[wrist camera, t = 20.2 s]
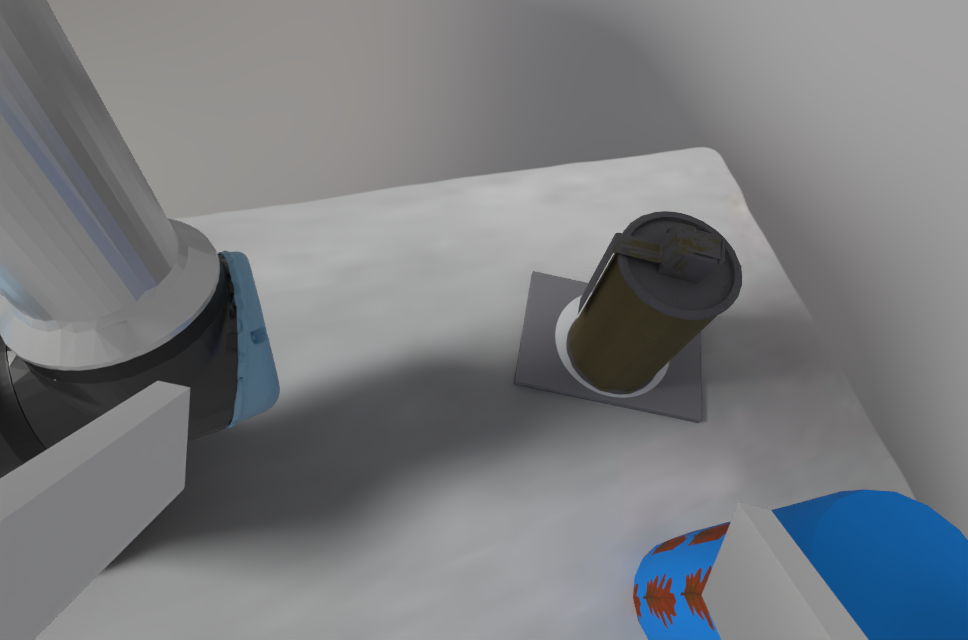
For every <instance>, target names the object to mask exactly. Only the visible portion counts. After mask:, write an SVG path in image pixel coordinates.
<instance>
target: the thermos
mask: <svg viewBox="0 0 968 640" xmlns="http://www.w3.org/2000/svg"><path fill="white" fill-rule="evenodd" d="M771 511H772V512H773V514H774V515H775V516H776V518H777V519H778V520H779V522H780V523H781V524H782V526H783V527H784V528H785V530H786V531H787V532H788V533H789V535H790V536H791V537H792V539H793V540H794V541H795V543H796V544H797V545H798V547H799V548H800V549H801V551H802V552H803V553H804V555H805V556H806V557H807V559H808V560H809V561H810V563H811V564H812V565H813V567H814V568H815V569H816V571H817V572H818V573H819V575H820V576H821V577H822V579H823V580H824V581H825V583H826V584H827V585H828V587H829V588H830V589H831V591H832V592H833V593H834V595H835V596H836V597H837V598H838V600H839V601H840V602H841V604H842V605H843V606H844V608H845V609H846V610H847V612H848V613H849V614H850V616H851V617H852V618H853V620H854V621H855V622H856V624H857V625H858V626H859V628H860V629H861V630H862V632H863V633H864V634H865V636H866V637H867V638H868V640H968V540H967V539H966V538H965V536H964V535H963V534H962V533H961V531H960V530H959V529H957V528H956V527H955V526H953V525H952V524H950V522H948V521H947V520H946V519H944V518H943V517H942V516H941V515H939V514H938V513H937V512H935V511H934V510H933V509H931V508H930V507H929V506H927V505H925V504H923V503H920V502H918V501H916V500H913V499H911V498H908V497H906V496H904V495H901V494H899V493H897V492H889V491H875V490H855V491H843V492H838V493H834V494H830V495H826V496H823V497H819V498H815V499H812V500H808V501H804V502H801V503H797V504H793V505H790V506H786V507H782V508H779V509H775V510H771ZM730 523H731V522H727V523H723V524H720V525H716V526H712V527H709V528H705V529H701V530H698V531H694V532H690V533H687V534H685V535H682V536H679V537H676V538H673V539H671V540H668V541H666V542H664V543H661V544H659V545H657V546H655V547H654V548H653V549H652V550H651V551H650V552H649V553H648V554H647V555H646V556H645V557H644V558H643V559H642V562H641V564H640V566H639V568H638V571H637V573H636V575H635V582H634V595H633V599H634V603H635V608H636V612H637V617H638V621H639V623H640V625H641V626H642V628H643V630H644V632H645V634H646V635H647V637H648V639H649V640H721V638H720V636H719V633H718V631H717V629H716V627H715V624H714V622H713V620H712V618H711V615H710V613H709V611H708V609H707V606H706V604H705V602H704V600H703V597H702V593H703V590H704V588H705V585H706V583H707V580H708V578H709V575H710V573H711V570H712V568H713V565H714V563H715V560H716V558H717V555H718V553H719V550H720V548H721V545H722V543H723V540H724V538H725V535H726V533H727V530H728V528H729V525H730Z"/></svg>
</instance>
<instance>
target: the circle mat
mask: <svg viewBox="0 0 968 640" xmlns="http://www.w3.org/2000/svg"><path fill="white" fill-rule="evenodd" d="M588 284H589V283H585V282H581V281H576V280H571V279H567V278H562V277H557V276H553V275H548V274H543V273H539V272H534V271H533V273H532V276H531V283H530V289H529V295H528V301H527V307H526V313H525V319H524V326H523V332H522V338H521V344H520V350H519V356H518V362H517V368H516V375H515V381H514V384H517V385H522V386H527V387H531V388H536V389H541V390H546V391H550V392H555V393H560V394H564V395H569V396H574V397H579V398H583V399H588V400H593V401H597V402H602V403H607V404H612V405H616V406H621V407H626V408H631V409H635V410H640V411H645V412H649V413H654V414H659V415H664V416H668V417H673V418H678V419H682V420H687V421H692V422H697V423H699V422H700V421H702V408H701V351H700V332H699V333H698V334H697V335H696V336H695V337H694V338H693V339H692V340H691V341H690V342H689V343H688V344H687V345H686V346H685V347H684V348H683V349H682V350H681V351H680V352H679V353H678V354H676V355H675V356H674V357H673V358H672V359H671V360H670V361H669V362H668V363H667V364H666V365H665V366H664V367H663V368H662V369H661V370H660V371H659V372H658V373H657V374H656V375H655V377H654V379H653V380H652V381H651V382H650V383H649V384H648V385H647V386H646V387H644V388H643V389H641V390H638V391H636V392H633V393H631V394H622V395H619V394H612V393H608V392H604V391H599V390H598V389H596V388H594V387H593V386H591V385H590V384H588V383H587V382H586V381H584V380H583V379H582V378H581V377H580V376H579V375H578V374H577V372H576V371H575V369H574V368H573V367H572V364H571V361H570V359H569V356H568V354H567V349H566V342H567V334H568V331H569V329H570V327H571V325H572V323H573V322H574V321H575V319H576V318H578V317H579V315H580V313H581V312H582V310H583V308H584V306H585V304H586V303H587V301H588V299H589V297H590V296H591V294H592V292H593V290H594V289H595V287H596V285H595V286H594V288H593V290H592V291H591V293H590V295H589V297H588V298H587V300H586V302H585V304H584V306H583V307H582V309H581V311H580V313H579V314H578V310H579V304H580V298H581V297H582V295H583V293H584V291H585V289H586V287H587V285H588Z"/></svg>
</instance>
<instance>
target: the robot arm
mask: <svg viewBox="0 0 968 640" xmlns="http://www.w3.org/2000/svg"><path fill="white" fill-rule="evenodd" d="M0 293H1V294H2V297H1V300H0V640H34V639H35V638H36V637H37V636H38V635H39V634H40V633H41V632H42V631H43V630H44V629H45V628H46V627H47V626H48V625H49V624H50V623H51V622H52V621H53V620H54V619H55V618H56V617H57V616H58V615H59V614H60V613H61V612H62V611H63V610H64V609H65V608H66V607H67V606H68V605H69V604H70V603H71V602H72V601H73V600H74V599H75V598H76V597H77V596H78V595H79V594H80V593H81V592H82V591H83V590H84V589H85V588H86V587H87V586H88V585H89V584H90V583H91V582H92V581H93V580H94V579H95V578H96V577H97V576H98V575H99V574H100V573H101V572H102V571H103V570H104V569H105V568H106V567H107V566H108V565H109V564H110V563H111V562H112V561H113V560H114V559H115V558H116V557H117V556H118V555H119V554H120V553H121V552H122V551H123V550H124V549H125V548H126V547H127V546H128V545H129V544H130V543H131V542H132V541H133V540H134V539H135V538H136V537H137V536H138V535H139V534H140V533H141V532H142V531H143V530H144V528H145V527H146V526H147V525H148V524H149V523H150V522H151V521H152V520H153V519H154V518H155V517H156V516H157V515H158V514H159V513H160V512H161V511H162V510H163V509H164V508H165V507H166V506H167V505H168V504H169V503H170V502H171V501H172V500H173V499H174V498H175V497H176V496H177V495H178V494H179V493H180V492H181V491H182V490H183V489H184V488H185V471H186V453H187V441H189V440H192V439H195V438H198V437H201V436H204V435H207V434H210V433H213V432H216V431H219V430H222V429H229V428H232V427H234V426H235V425H236V424H237V423H238V422H240V421H243V420H245V419H248V418H250V417H253V416H255V415H257V414H260V413H262V412H265V411H267V410H268V409H270V408H271V407H272V406H273V405H274V404H275V402H276V401H277V399H278V397H279V392H280V386H279V380H278V375H277V371H276V367H275V363H274V359H273V354H272V350H271V346H270V343H269V339H268V335H267V332H266V326H265V323H264V319H263V314H262V309H261V305H260V301H259V297H258V294H257V290H256V286H255V282H254V278H253V274H252V271H251V267H250V264H249V260H248V258H247V257H246V255H245V254H243V253H241V252H228V251H223V252H219V253H218V254H217V252H216V250H215V248H214V247H213V245H212V244H211V242H210V241H209V240H208V238H207V237H206V236H205V235H204V234H203V233H202V232H200V231H199V230H198V229H196V228H194V227H192V226H190V225H188V224H186V223H183V222H181V221H177V220H173V219H168V218H167V217H166V215H165V213H164V211H163V209H162V208H161V206H160V204H159V202H158V200H157V199H156V197H155V195H154V193H153V191H152V189H151V188H150V186H149V184H148V183H147V181H146V179H145V177H144V175H143V173H142V171H141V170H140V168H139V166H138V164H137V163H136V161H135V159H134V157H133V155H132V153H131V152H130V150H129V148H128V146H127V144H126V143H125V141H124V139H123V137H122V136H121V134H120V132H119V130H118V128H117V127H116V125H115V123H114V121H113V119H112V117H111V116H110V114H109V112H108V110H107V108H106V106H105V105H104V103H103V101H102V99H101V97H100V96H99V94H98V92H97V90H96V88H95V87H94V85H93V83H92V81H91V79H90V78H89V76H88V74H87V72H86V71H85V69H84V67H83V65H82V63H81V61H80V60H79V58H78V56H77V54H76V52H75V51H74V49H73V47H72V45H71V43H70V42H69V40H68V38H67V36H66V34H65V33H64V31H63V29H62V27H61V25H60V24H59V22H58V20H57V19H56V16H55V15H54V13H53V11H52V9H51V7H50V6H49V4H48V2H47V0H0ZM702 597H703V600H704V602H705V604H706V606H707V609H708V611H709V613H710V615H711V618H712V620H713V622H714V624H715V627H716V629H717V631H718V633H719V636H720V638H721V640H868V638H867V637H866V636H865V634H864V633H863V632H862V630H861V629H860V628H859V626H858V625H857V624H856V622H855V621H854V620H853V618H852V617H851V616H850V614H849V613H848V612H847V610H846V609H845V608H844V606H843V605H842V604H841V602H840V601H839V600H838V598H837V597H836V596H835V595H834V593H833V592H832V591H831V589H830V588H829V587H828V585H827V584H826V583H825V581H824V580H823V579H822V577H821V576H820V575H819V573H818V572H817V571H816V569H815V568H814V567H813V565H812V564H811V563H810V561H809V560H808V559H807V557H806V556H805V555H804V553H803V552H802V551H801V549H800V548H799V547H798V545H797V544H796V543H795V541H794V540H793V539H792V537H791V536H790V535H789V533H788V532H787V531H786V530H785V528H784V527H783V526H782V524H781V523H780V522H779V520H778V519H777V518H776V516H775V515H774V514H773V512H772V511H771V510H770V509H768V508H763V507H758V506H753V505H749V504H744V503H738V505H737V508H736V510H735V513H734V515H733V518H732V520H731V523H730V525H729V528H728V530H727V533H726V535H725V538H724V540H723V543H722V545H721V548H720V550H719V553H718V555H717V558H716V560H715V563H714V565H713V568H712V570H711V573H710V575H709V578H708V580H707V583H706V585H705V588H704V590H703V593H702Z"/></svg>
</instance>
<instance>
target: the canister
mask: <svg viewBox="0 0 968 640" xmlns="http://www.w3.org/2000/svg"><path fill="white" fill-rule="evenodd" d="M613 253H614V255H613V257H612V259H611V260H610V262H609V264H608V266H607V268H606V269H605V271H604V273H603V275H602V276H601V278H600V280H599V282H598V283H597V285H596V287H595V289H594V290H593V288H594V286H595V284H596V282H597V281H598V279H599V277H600V275H601V273H602V272H603V270H604V268H605V266H606V265H607V263H608V261H609V259H610V257H611V256H612V254H613ZM741 286H742V271H741V265H740V263H739V261H738V258H737V256H736V254H735V251H734V250H733V248H732V247H731V246H730V244H729V243H728V242H727V241H726V239H725V238H724V237H723V236H722V235H721V234H720V233H719V232H718V231H716V230H715V229H714V228H712V227H711V226H709V225H708V224H706V223H705V222H703V221H701V220H698V219H696V218H694V217H692V216H689V215H685V214H682V213H677V212H665V211H664V212H654V213H651V214H647V215H643V216H641V217H639V218H638V219H636V220H635V221H633V222H632V223H630V224H629V226H628V227H627V228H626V229H625V230H624V232H623V233H616V234H615V235H614V237H613V239H612V241H611V243H610V245H609V246H608V248H607V250H606V252H605V254H604V256H603V258H602V259H601V261H600V263H599V265H598V267H597V269H596V271H595V272H594V274H593V276H592V278H591V280H590V282H589V284H588V285H587V287H586V289H585V291H584V293H583V295H582V297H581V298H580V304H579V310H578V314H579V313H580V311H581V309H582V307H583V306H584V304H585V302H586V300H587V298H588V297H589V295H590V293H591V291H592V290H593V292H592V294H591V296H590V297H589V299H588V301H587V303H586V304H585V306H584V308H583V310H582V312H581V313H580V315H579V317H578V318H576V319H575V321H574V322H573V323H572V325H571V327H570V329H569V331H568V334H567V342H566V349H567V354H568V356H569V359H570V361H571V364H572V367H573V368H574V369H575V371H576V372H577V374H578V375H579V376H580V377H581V378H582V379H583V380H584V381H586V382H587V383H588V384H590V385H591V386H593V387H594V388H596V389H598V390H599V391H604V392H608V393H612V394H619V395H622V394H631V393H633V392H636V391H638V390H641V389H643V388H644V387H646V386H647V385H648V384H649V383H650V382H651V381H652V380H653V379H654V377H655V375H656V374H657V373H658V372H659V371H660V370H661V369H662V368H663V367H664V366H665V365H666V364H667V363H668V362H669V361H670V360H671V359H672V358H673V357H674V356H675V355H676V354H678V353H679V352H680V351H681V350H682V349H683V348H684V347H685V346H686V345H687V344H688V343H689V342H690V341H691V340H692V339H693V338H694V337H695V336H696V335H697V334H698V333H699V332H700V331H701V330H702V329H704V328H705V327H706V326H707V325H708V324H709V323H710V322H711V321H712V320H713V319H714V318H715V317H716V316H717V315H719V314H721V313H722V312H724V311H725V310H727V309H728V308H729V307H730V306H731V305H732V304H733V303H734V301H735V300H736V299H737V297H738V295H739V292H740V289H741Z"/></svg>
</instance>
